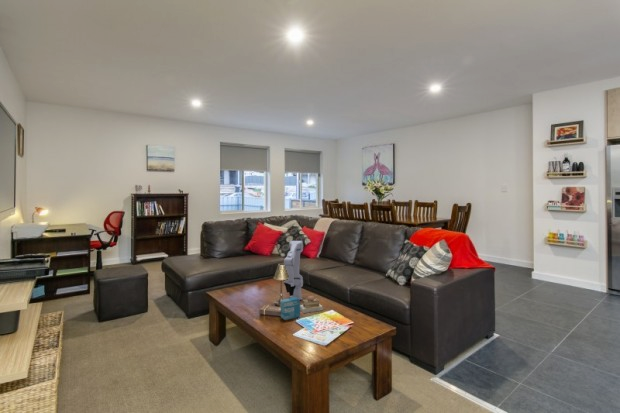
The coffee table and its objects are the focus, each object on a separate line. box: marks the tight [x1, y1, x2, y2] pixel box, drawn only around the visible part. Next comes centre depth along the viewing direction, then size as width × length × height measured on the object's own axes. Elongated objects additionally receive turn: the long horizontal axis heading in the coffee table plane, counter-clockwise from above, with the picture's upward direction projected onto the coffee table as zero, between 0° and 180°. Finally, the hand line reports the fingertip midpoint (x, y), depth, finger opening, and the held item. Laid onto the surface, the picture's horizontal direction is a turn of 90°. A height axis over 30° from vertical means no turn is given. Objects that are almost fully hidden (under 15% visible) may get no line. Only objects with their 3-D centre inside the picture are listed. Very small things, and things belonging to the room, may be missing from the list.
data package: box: [280, 297, 301, 321], centre depth 204 cm, size 12×4×12 cm, turn 117°
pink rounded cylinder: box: [307, 295, 315, 302], centre depth 217 cm, size 4×4×3 cm
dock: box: [300, 303, 324, 314], centre depth 217 cm, size 9×14×3 cm, turn 109°
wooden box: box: [302, 297, 320, 308], centre depth 217 cm, size 6×10×4 cm, turn 109°
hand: (289, 293), depth 219 cm, fingers open, 7 cm apart
